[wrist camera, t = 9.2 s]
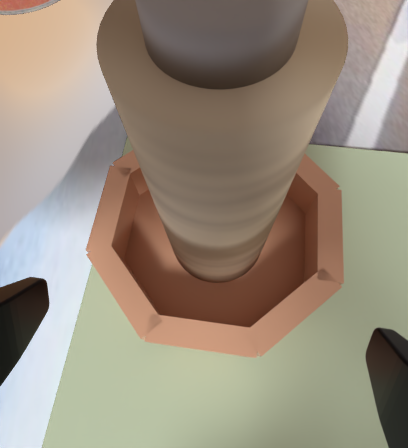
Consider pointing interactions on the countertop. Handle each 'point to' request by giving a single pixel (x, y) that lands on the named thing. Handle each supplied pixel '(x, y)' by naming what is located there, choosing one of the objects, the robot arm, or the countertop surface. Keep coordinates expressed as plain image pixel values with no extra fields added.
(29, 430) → the countertop surface
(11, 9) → the canned food
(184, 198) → the pepper mill
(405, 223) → the mat
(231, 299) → the octagonal ashtray
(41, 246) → the countertop surface
